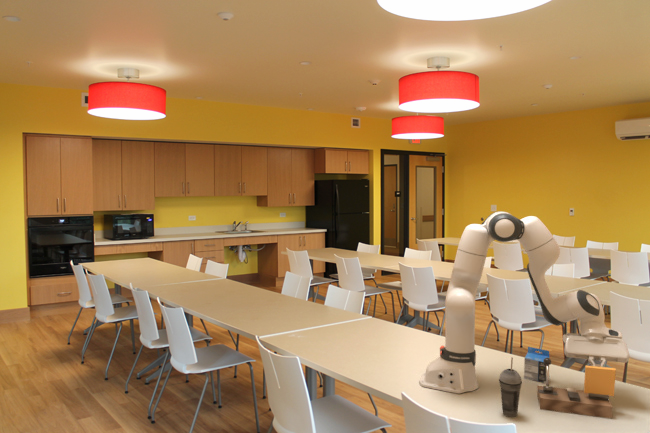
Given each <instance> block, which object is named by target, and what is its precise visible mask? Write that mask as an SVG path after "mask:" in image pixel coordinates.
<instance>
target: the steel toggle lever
mask: <svg viewBox="0 0 650 433" xmlns="http://www.w3.org/2000/svg"><path fill="white" fill-rule="evenodd" d="M544 364H545V365H546V383H545V384H546V385H542V386H543V391H546V392H553V386H550V365H551V364H552V359H551V358H550V359H549V358H545V359H544Z"/></svg>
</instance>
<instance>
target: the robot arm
mask: <svg viewBox="0 0 650 433" xmlns="http://www.w3.org/2000/svg"><path fill="white" fill-rule="evenodd" d="M494 241H497V242H500V243H501V242H502V243H508V242H511V241H512V242H513V241H518V242H519V243H520V244H521V246H522V248H523V249H524V251H525V252H526V255H527V257H528V263H527V265H526V270H527V274H528V277H529V279H530V282H531V285H532V288H533V289H534V292H535V294H536V297H537V299H538V302H539V305H540V309H541V313H542V314H543V317H544V319H545V321H546V322H548V323H550V324H551V325H554V326H556V327H559V326H561V325H564V324H566V323H569V322H572V321H575V320H578V321H579V327H578V328H579V332H577V333H576V332H575V333H573V332H567V333H564V334H563V335H562V341H563V343H564V350H563V352H564V355H565V357H566V358H573V359H583V360H588V363H589V364H590V366H597V367H604V365H605V363H606V362H613V363H621V364H622V363H623V364H625V363H626V364H627V362H629V360H630V353H629V352H630V351H629V348H628V346H627V343H626V341H625V340H624V339H623V333H622V332H621V331H619V330H615V329H612V328H610V327H607V325H606V324H605V320H606V317H605V311H604V308H603V305H602V302H601V299H600V297H599V296H597V294H594V293H591V292H588V291H585V290H583V289H579V290H575V291H572V292H568V293H566V294H562V295H560V296H557V297H554V296H553V295H552V293H551V291H550V289H549V286H548V284H547V281H546V279H545V275H546V272H548V270H549V269H550V268H551V267H553V265H554V264H555V263H556V262H557V261H558V259H559V257H560V253H561V252H560V250H561V248H560V246H559V244H558V242H557V240H556V239H555V237H554V235H553V234H552V233H551V231H550V230H549V229H548V227H547V226H546V225H545V224H544V223H543V221H542V220H541V219H540V218H538V216H534V215H529V216H525V217H523V218H521V219H519V218H518V217H516V216H514V215H513V214H511V213H510V212H507V211H503V210H502V211H500V210H499V211H496V212H493V213H491V214H489V215H488V216H487V217H486V218H485V220H484V221H483V222H482V223H481V224H480V223H471V224H468V225H467V226H465V228H464V230H463V232H462V234H461V237H460V239H459V242H458V246H457V250H456V254H455V258H454V262H453V266H452V270H451V273H450V274H451V275H450V279H449V282H448V287H447V290H446V294H445V301H444V309H445V311H444V314H445V318H444V319H445V322H444V323H445V326H444V328H445V332H444V333H445V335H444V336H445V342H444V343H445V345H440V346H439V356H438V357H437V358H436V359H434V360H432V361H431V362H429V363H428V365H427V366H426V369H425V373H423V374H422V375H420V377H419V385H420V386H421V387H423V388H428V389H434V390H439V391H442V392H443V391H444V392H448V393H453V394H458V395H459V394H463V393H467V392H472V391H475V390H478V389H479V382H478V379H477V373H476V362H477V354H476V348H475V343H476V342H475V339H476V338H475V336H476V335H475V334H476V333H475V332H476V330H475V328H476V326H475V325H476V297H477V296H476V295H477V293H478V290H479V286H480V282H481V279H482V276H483V271H484V268H485V263H486V260H487V256H488V250H489V247H490V245H491V243H493V242H494ZM595 361H599V363H600V364H599V363H598V364H596V362H595Z"/></svg>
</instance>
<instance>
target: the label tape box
mask: <svg viewBox="0 0 650 433" xmlns="http://www.w3.org/2000/svg"><path fill="white" fill-rule="evenodd" d="M550 357H551V356H550V350H546V349H541V348H537V347H530V346H527V352H526V354H525V356H524V360H523V361H524V364H523V365H524V366H523V378H524V379H527V380H532V381H535V382H540V383H543V384H546V365H545V364H544V359H545V358H549V359H550V360H551V358H550Z"/></svg>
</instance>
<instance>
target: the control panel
mask: <svg viewBox="0 0 650 433" xmlns="http://www.w3.org/2000/svg"><path fill="white" fill-rule="evenodd" d="M543 386H544V385H537V388H536V389H537V391H536V393H537V395H536V396H537V397H536V398H537V402H538V407H539V409H540V411H541V410H544V411H552V412H559V413H567V414H574V415H582V416H589V417H597V418H607V419H613V405H612V404H611V402H610V399H607V398H598V397H589V395H588V393H584V390H580V389H576V388H574V387H566V388H562V387H553V386H552V387H553V392H546V391H543Z"/></svg>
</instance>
